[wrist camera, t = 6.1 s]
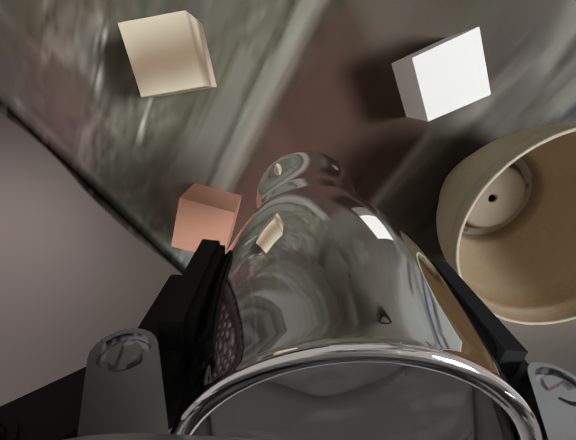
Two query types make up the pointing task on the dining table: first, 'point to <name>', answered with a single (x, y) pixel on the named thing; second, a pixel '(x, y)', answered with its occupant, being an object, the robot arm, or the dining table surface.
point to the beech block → (168, 54)
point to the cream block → (443, 76)
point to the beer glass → (338, 329)
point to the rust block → (205, 217)
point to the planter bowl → (515, 224)
